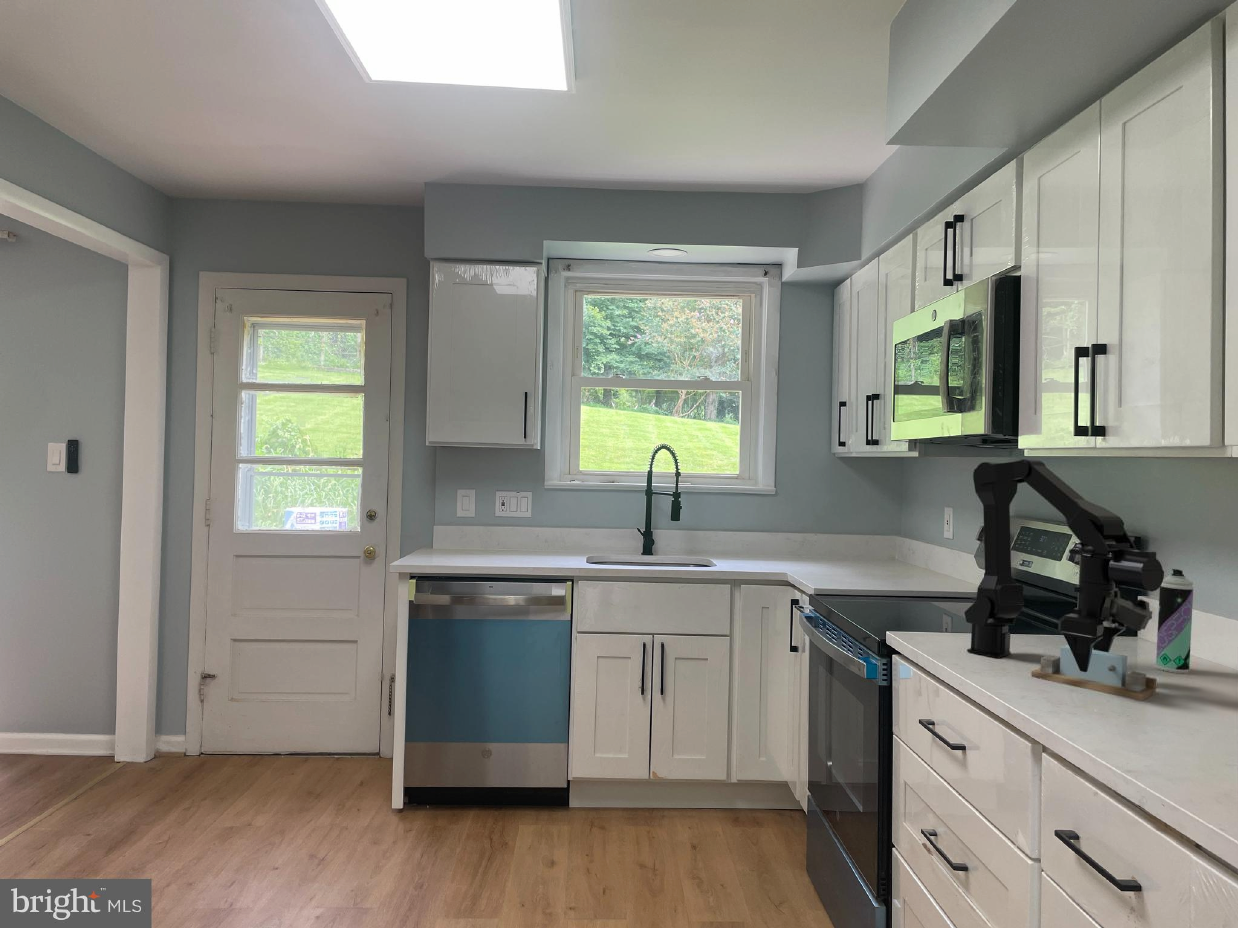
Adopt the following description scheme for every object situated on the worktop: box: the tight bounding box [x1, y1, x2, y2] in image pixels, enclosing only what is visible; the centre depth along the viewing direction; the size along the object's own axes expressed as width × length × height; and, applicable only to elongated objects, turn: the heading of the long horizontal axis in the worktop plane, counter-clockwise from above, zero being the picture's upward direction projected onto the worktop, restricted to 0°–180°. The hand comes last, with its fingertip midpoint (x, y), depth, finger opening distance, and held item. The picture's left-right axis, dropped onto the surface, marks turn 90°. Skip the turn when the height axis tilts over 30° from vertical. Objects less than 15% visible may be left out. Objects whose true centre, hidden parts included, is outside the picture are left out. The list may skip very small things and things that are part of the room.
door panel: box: [1059, 644, 1128, 687], centre depth 148 cm, size 10×4×5 cm, turn 44°
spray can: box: [1155, 568, 1194, 674], centre depth 162 cm, size 6×6×20 cm
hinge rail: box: [1030, 654, 1157, 701], centre depth 148 cm, size 18×8×4 cm, turn 43°
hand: (1092, 667), depth 148 cm, fingers open, 9 cm apart
